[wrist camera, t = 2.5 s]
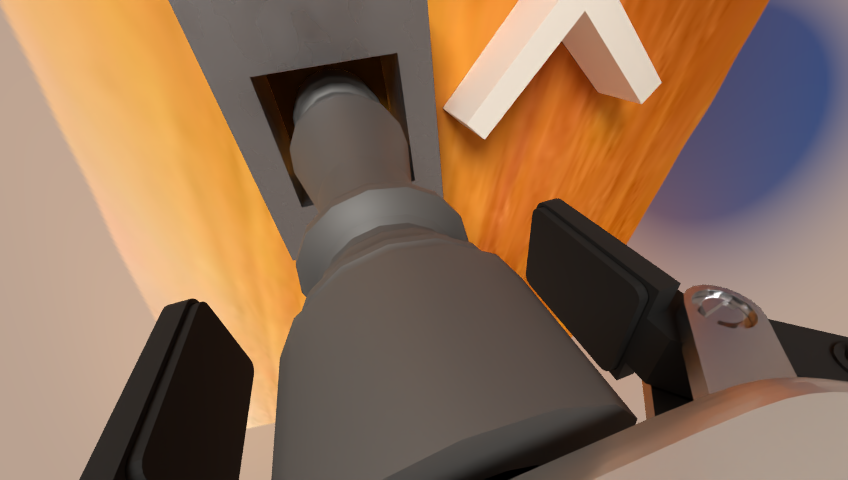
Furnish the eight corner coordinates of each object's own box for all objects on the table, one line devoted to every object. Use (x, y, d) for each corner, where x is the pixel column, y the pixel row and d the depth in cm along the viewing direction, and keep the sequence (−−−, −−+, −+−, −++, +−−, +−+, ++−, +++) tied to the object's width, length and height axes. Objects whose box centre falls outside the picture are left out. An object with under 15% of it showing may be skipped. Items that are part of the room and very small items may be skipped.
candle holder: (311, 160, 26) (332, 619, 6) (280, 77, 22) (86, 580, 2) (384, 143, 27) (602, 491, 7) (367, 60, 23) (725, 320, 3)
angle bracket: (433, -23, 21) (462, -32, 17) (642, -50, 24) (707, -62, 20) (443, 125, 27) (467, 143, 23) (610, 89, 30) (655, 101, 26)
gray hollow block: (196, -9, 18) (160, -17, 14) (396, -33, 20) (423, -46, 16) (294, 219, 28) (292, 260, 23) (423, 187, 30) (444, 219, 25)
